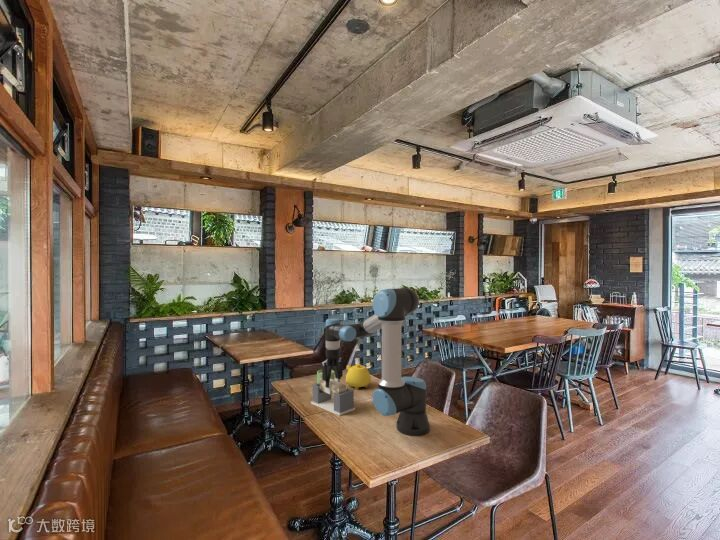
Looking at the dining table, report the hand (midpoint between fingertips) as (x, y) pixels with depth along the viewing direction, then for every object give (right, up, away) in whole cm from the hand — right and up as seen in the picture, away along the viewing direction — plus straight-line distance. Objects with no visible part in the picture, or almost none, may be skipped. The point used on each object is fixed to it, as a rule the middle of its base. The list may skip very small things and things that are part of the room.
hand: (332, 392), depth 199 cm
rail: (0, -1, 0) cm, 1 cm away
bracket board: (0, -8, 0) cm, 8 cm away
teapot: (+12, -7, +35) cm, 38 cm away
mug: (-5, -7, +23) cm, 25 cm away
